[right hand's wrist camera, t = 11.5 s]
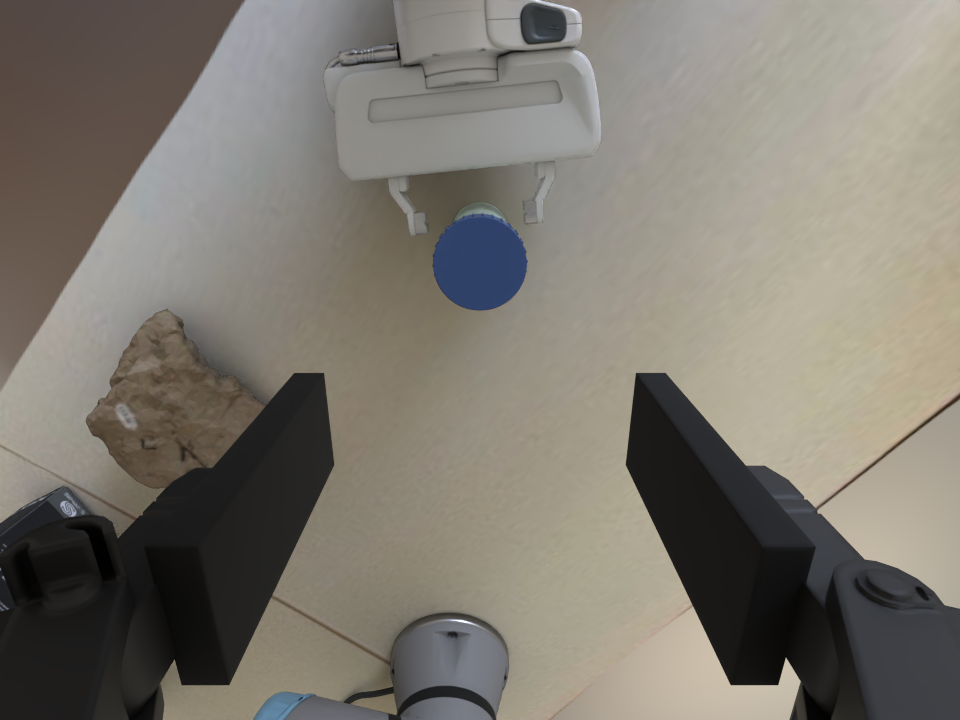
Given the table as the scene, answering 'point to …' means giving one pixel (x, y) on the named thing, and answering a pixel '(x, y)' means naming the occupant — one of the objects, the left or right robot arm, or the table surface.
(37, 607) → the right robot arm
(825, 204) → the table surface
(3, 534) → the graphics card box
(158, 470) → the stone
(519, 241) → the lid
